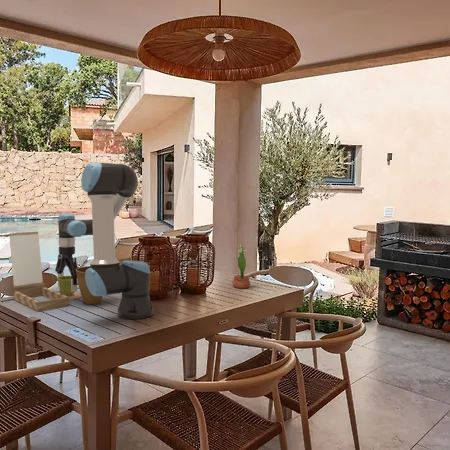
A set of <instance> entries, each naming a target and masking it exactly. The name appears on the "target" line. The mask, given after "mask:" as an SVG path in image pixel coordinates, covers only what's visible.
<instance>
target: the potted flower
mask: <svg viewBox="0 0 450 450" xmlns="http://www.w3.org/2000/svg"><path fill="white" fill-rule="evenodd" d="M244 245H245V243H241V244H240V245H239V249H238V250H237V254H238V256H237V267H238V269H239V272H240V275H234V276H233V280H232V282H231V283H232V286H233V287H234V288H237V289H248V288H250V285H251V281H250V276H248V275H245V270H246V267H247V261H246V260H248V257H247V256H246V253H247V249H246V247H244ZM244 253H245V254H244Z"/></svg>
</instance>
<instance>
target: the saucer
mask: <svg viewBox="0 0 450 450" xmlns="http://www.w3.org/2000/svg"><path fill="white" fill-rule="evenodd" d="M68 297H69V301H72V300H73V301H74V300H77V299H81V297H82V295H81V292H78V291H75V292H74V295H72V296H68Z"/></svg>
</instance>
